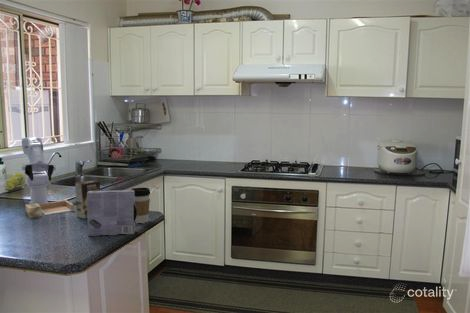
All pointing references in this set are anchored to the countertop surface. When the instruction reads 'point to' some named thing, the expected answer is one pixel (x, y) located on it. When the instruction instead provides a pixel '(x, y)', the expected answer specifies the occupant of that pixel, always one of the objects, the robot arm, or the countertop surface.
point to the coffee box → (84, 195)
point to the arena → (56, 207)
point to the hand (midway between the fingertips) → (41, 179)
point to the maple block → (33, 210)
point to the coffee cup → (142, 204)
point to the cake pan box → (111, 212)
